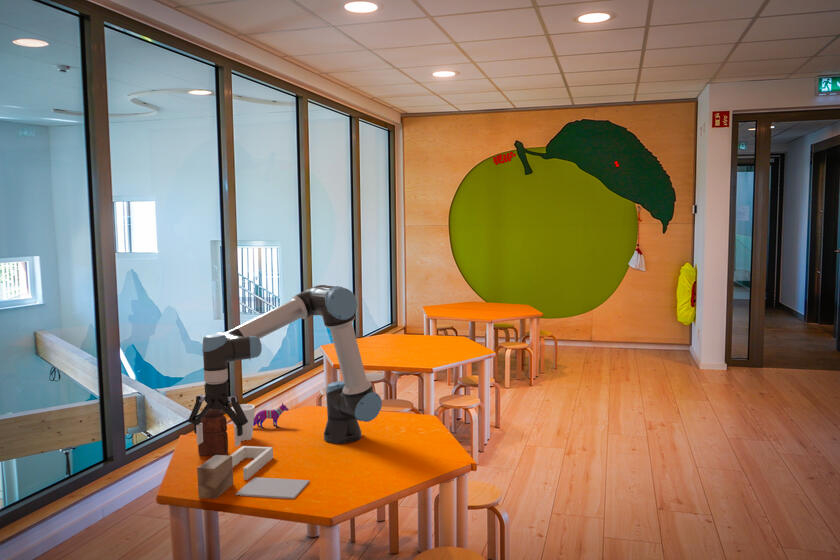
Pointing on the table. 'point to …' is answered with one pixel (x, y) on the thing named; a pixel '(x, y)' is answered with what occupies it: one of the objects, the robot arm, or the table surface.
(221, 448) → the wooden figurine
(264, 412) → the toy dog
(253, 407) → the foam cup
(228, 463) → the walnut block
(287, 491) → the mat
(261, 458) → the bay
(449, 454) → the table surface
